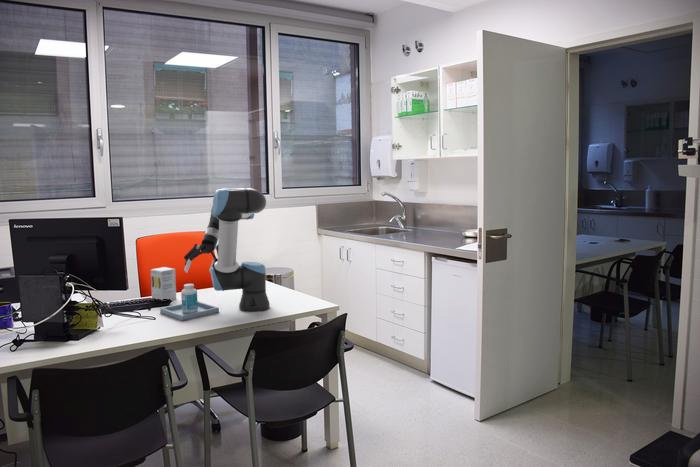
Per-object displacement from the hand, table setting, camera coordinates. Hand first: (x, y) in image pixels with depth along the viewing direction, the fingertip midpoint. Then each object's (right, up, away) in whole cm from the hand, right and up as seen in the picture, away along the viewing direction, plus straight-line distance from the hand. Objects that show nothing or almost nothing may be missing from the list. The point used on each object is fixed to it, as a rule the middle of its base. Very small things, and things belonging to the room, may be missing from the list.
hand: (198, 271), depth 271 cm
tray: (-2, -20, -7) cm, 21 cm away
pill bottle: (-2, -19, -7) cm, 20 cm away
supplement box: (-24, -17, +20) cm, 35 cm away
